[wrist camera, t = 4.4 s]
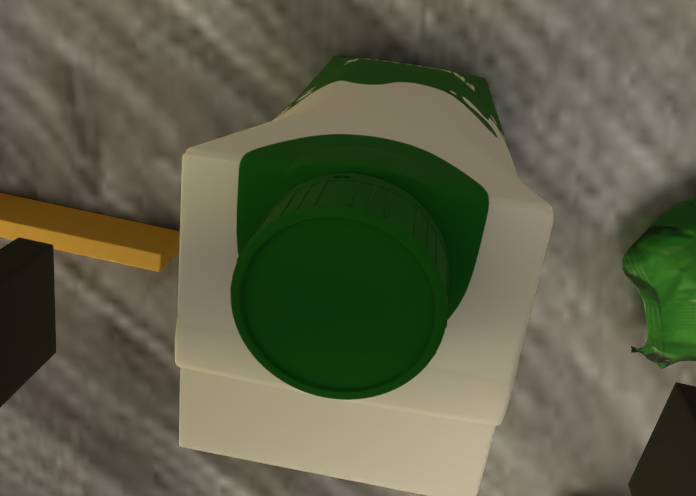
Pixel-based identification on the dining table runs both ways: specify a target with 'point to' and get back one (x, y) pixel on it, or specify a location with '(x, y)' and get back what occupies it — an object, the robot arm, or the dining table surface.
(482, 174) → the soya milk
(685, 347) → the snack package
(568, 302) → the dining table surface
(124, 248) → the frame
